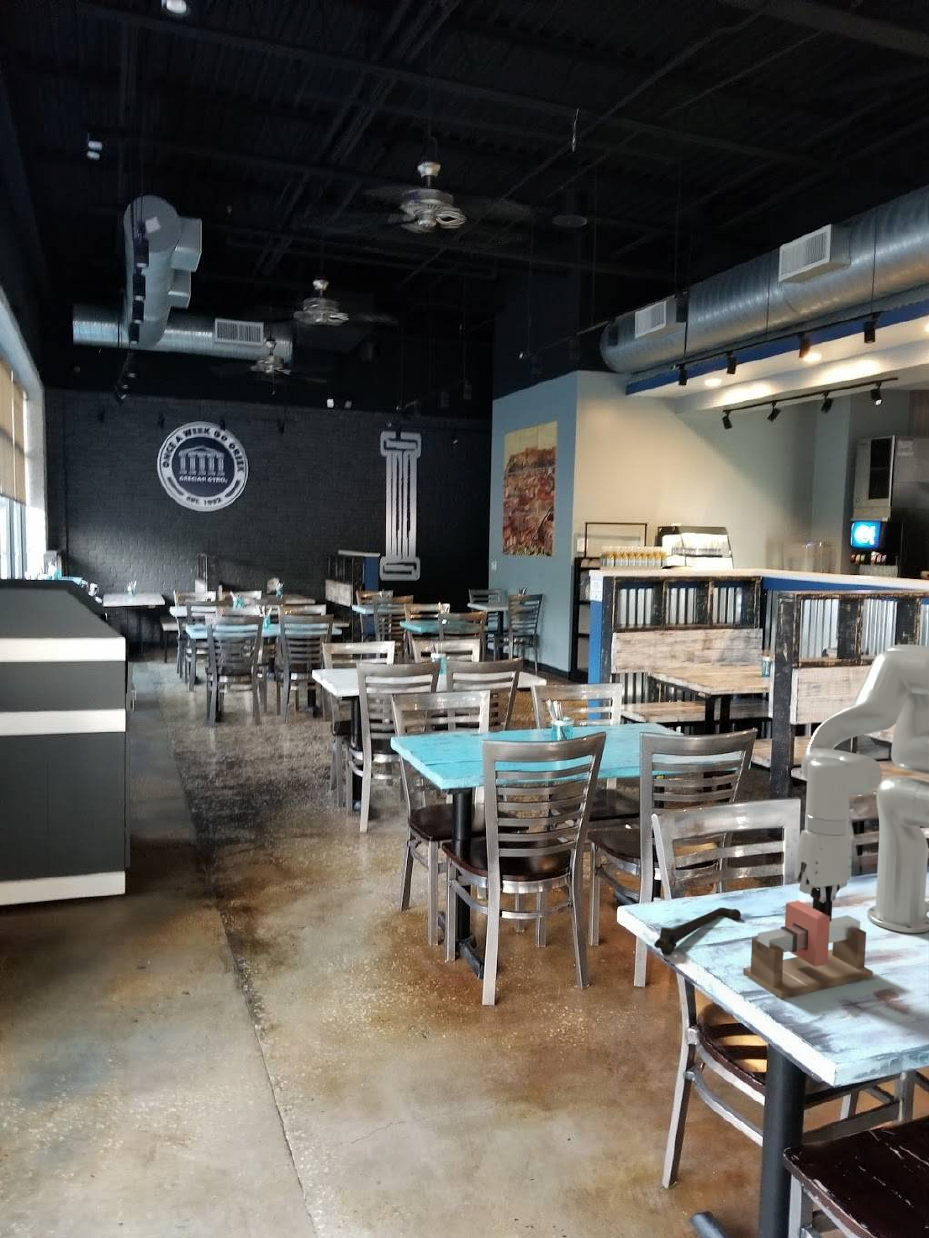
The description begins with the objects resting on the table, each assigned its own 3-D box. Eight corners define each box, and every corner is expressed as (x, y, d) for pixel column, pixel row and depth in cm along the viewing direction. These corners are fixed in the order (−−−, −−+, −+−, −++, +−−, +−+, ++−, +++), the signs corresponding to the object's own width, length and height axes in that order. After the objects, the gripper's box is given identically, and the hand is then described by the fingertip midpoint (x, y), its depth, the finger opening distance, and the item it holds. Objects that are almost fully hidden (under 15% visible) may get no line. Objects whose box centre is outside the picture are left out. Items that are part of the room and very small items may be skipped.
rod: (846, 930, 176) (847, 913, 176) (860, 938, 173) (861, 920, 173) (756, 949, 167) (757, 931, 167) (769, 957, 164) (770, 938, 164)
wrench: (742, 927, 197) (674, 964, 174) (720, 922, 200) (651, 957, 178) (742, 903, 197) (675, 937, 174) (720, 898, 200) (651, 931, 178)
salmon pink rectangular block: (796, 946, 174) (798, 900, 174) (827, 963, 167) (829, 916, 166) (783, 948, 173) (785, 902, 172) (815, 966, 166) (817, 919, 165)
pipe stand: (832, 955, 180) (833, 915, 179) (872, 977, 170) (874, 936, 170) (743, 974, 171) (744, 933, 170) (780, 999, 162) (782, 955, 161)
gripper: (841, 814, 176) (836, 906, 177) (780, 823, 170) (776, 918, 171) (872, 826, 169) (867, 921, 170) (810, 835, 163) (805, 933, 164)
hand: (821, 919), depth 171 cm, fingers closed
